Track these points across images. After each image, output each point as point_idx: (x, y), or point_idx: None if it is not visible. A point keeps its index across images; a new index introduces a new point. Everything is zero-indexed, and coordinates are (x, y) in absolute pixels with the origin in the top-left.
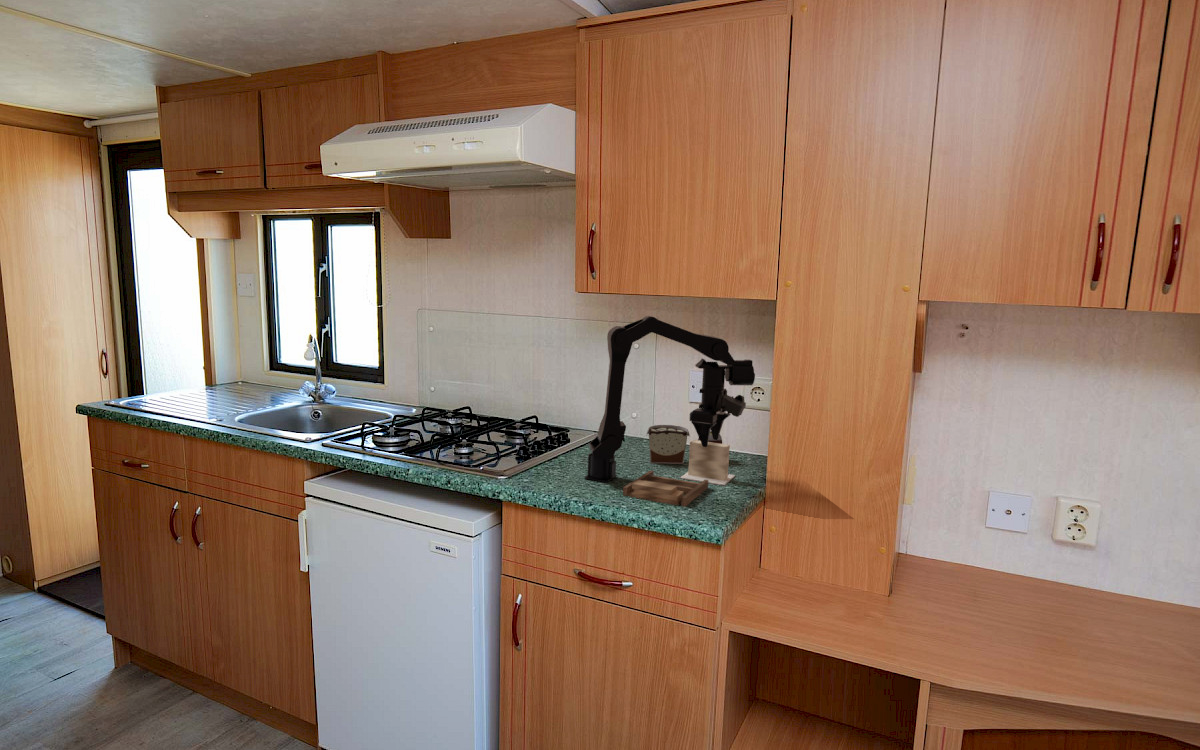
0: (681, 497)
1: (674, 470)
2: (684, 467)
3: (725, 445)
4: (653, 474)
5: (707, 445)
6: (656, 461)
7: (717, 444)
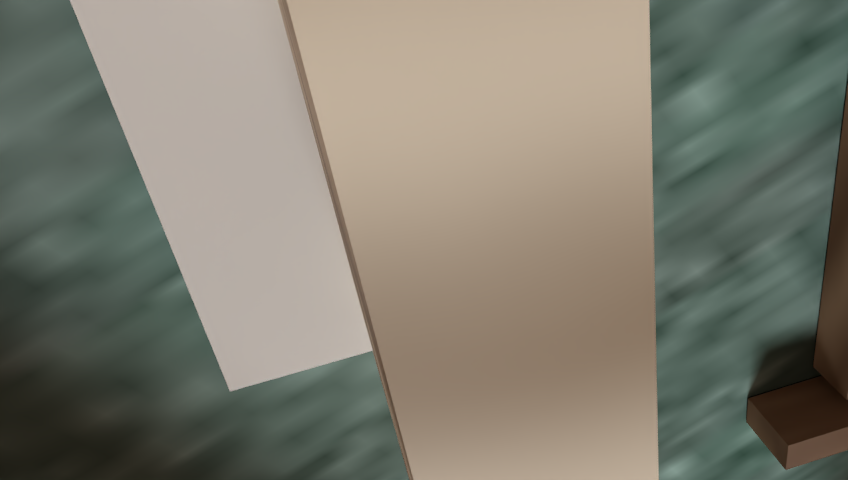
0: None
1: (396, 455)
2: (222, 470)
3: (460, 37)
4: (769, 424)
5: (642, 357)
6: None
7: (507, 244)
